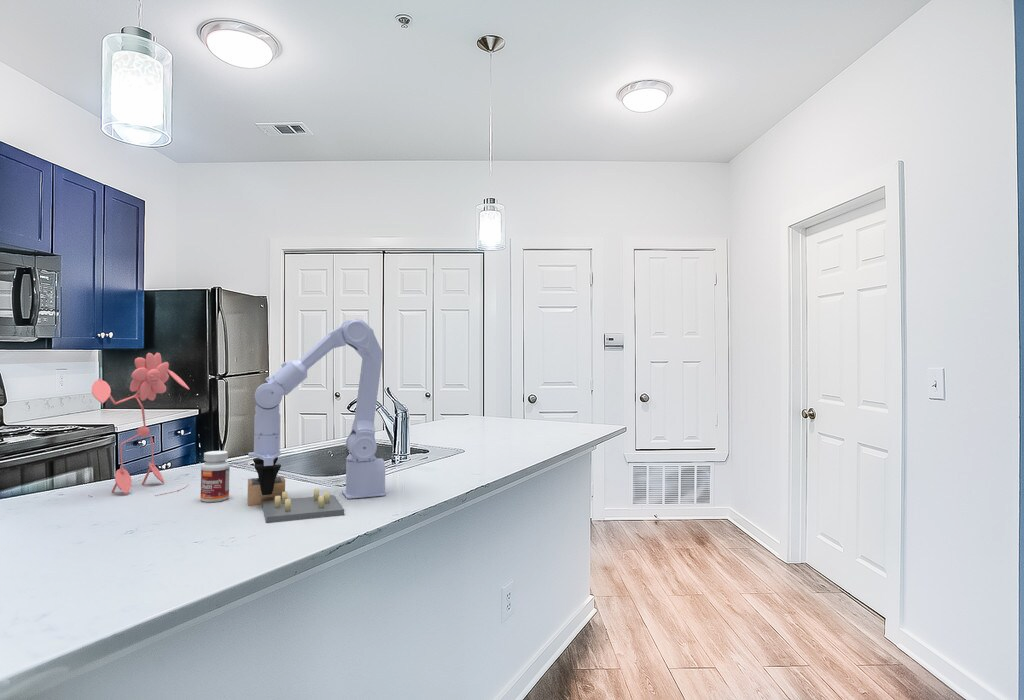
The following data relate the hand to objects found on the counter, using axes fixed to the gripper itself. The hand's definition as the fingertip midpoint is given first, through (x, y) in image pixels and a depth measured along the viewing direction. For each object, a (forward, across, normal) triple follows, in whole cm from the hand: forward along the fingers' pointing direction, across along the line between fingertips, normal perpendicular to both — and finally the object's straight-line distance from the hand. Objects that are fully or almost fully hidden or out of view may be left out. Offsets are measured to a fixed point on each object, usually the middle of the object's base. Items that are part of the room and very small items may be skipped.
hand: (265, 490), depth 142 cm
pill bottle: (+3, -7, -11) cm, 13 cm away
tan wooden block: (+3, 0, 0) cm, 3 cm away
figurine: (+3, -23, -26) cm, 35 cm away
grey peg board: (+3, +11, +7) cm, 13 cm away
